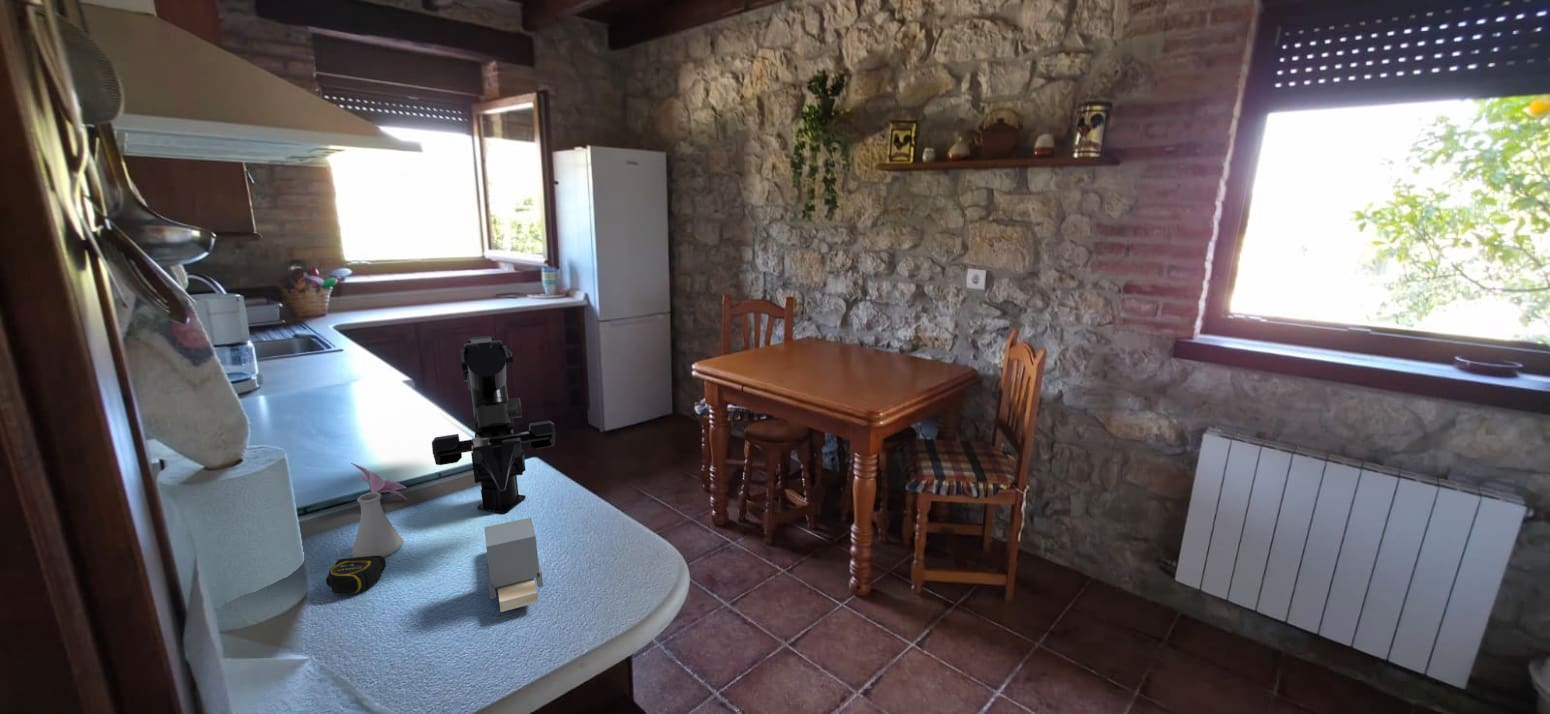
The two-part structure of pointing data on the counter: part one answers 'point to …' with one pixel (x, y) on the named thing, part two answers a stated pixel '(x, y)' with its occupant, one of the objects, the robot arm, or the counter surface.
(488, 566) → the block
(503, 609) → the beam
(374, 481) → the lily
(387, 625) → the counter surface
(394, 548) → the flask
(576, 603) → the counter surface
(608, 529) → the counter surface
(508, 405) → the robot arm
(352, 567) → the tape measure
